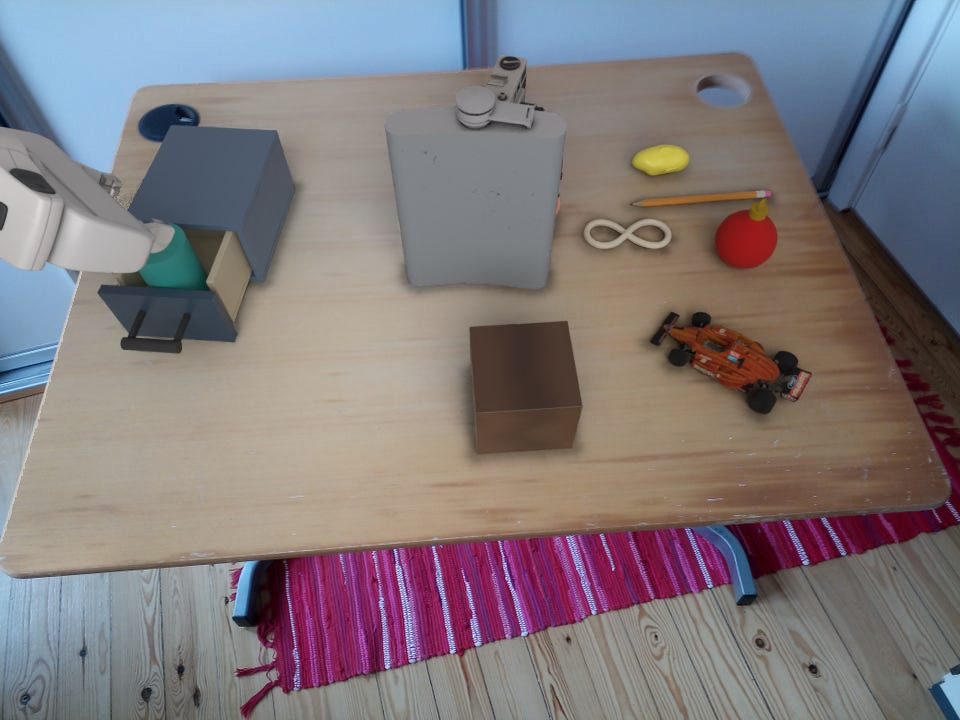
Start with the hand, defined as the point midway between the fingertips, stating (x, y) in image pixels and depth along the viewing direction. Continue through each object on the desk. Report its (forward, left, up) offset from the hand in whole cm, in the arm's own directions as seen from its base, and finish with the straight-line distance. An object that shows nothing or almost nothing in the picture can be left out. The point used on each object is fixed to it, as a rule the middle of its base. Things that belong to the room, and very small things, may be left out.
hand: (142, 208), depth 66 cm
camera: (+48, -5, -17) cm, 51 cm away
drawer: (0, +1, -16) cm, 16 cm away
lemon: (+59, -23, -17) cm, 65 cm away
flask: (+28, -19, -17) cm, 37 cm away
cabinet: (+10, +9, -17) cm, 22 cm away
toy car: (+39, -48, -17) cm, 64 cm away
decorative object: (+46, -28, -17) cm, 56 cm away
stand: (+18, -36, -17) cm, 43 cm away
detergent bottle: (0, +1, -15) cm, 15 cm away
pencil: (+58, -30, -17) cm, 67 cm away
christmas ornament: (+53, -40, -17) cm, 68 cm away
